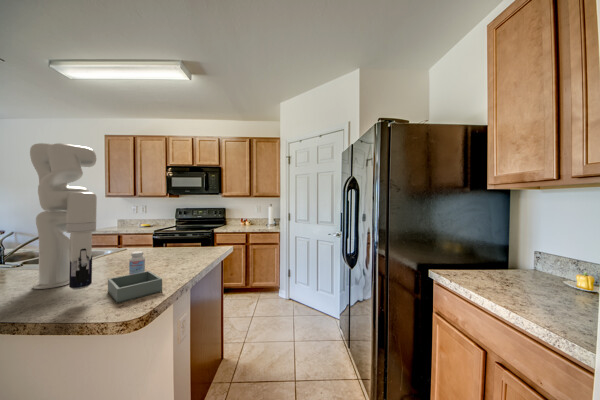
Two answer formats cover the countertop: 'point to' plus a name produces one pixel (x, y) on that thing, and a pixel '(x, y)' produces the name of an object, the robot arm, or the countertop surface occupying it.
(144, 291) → the box
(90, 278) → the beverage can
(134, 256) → the pill bottle
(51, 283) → the robot arm
